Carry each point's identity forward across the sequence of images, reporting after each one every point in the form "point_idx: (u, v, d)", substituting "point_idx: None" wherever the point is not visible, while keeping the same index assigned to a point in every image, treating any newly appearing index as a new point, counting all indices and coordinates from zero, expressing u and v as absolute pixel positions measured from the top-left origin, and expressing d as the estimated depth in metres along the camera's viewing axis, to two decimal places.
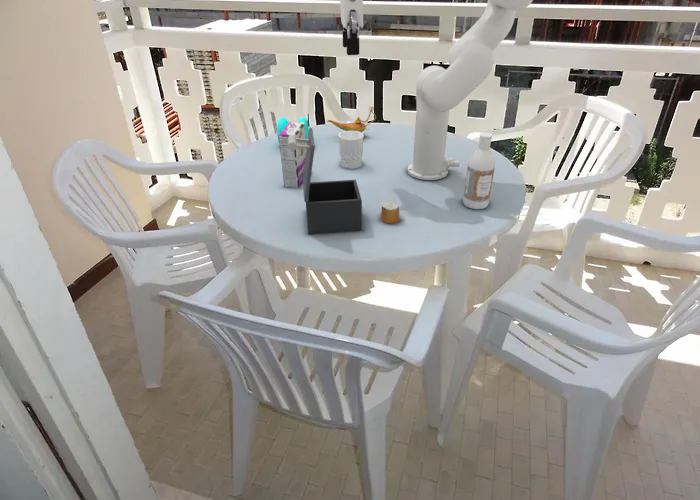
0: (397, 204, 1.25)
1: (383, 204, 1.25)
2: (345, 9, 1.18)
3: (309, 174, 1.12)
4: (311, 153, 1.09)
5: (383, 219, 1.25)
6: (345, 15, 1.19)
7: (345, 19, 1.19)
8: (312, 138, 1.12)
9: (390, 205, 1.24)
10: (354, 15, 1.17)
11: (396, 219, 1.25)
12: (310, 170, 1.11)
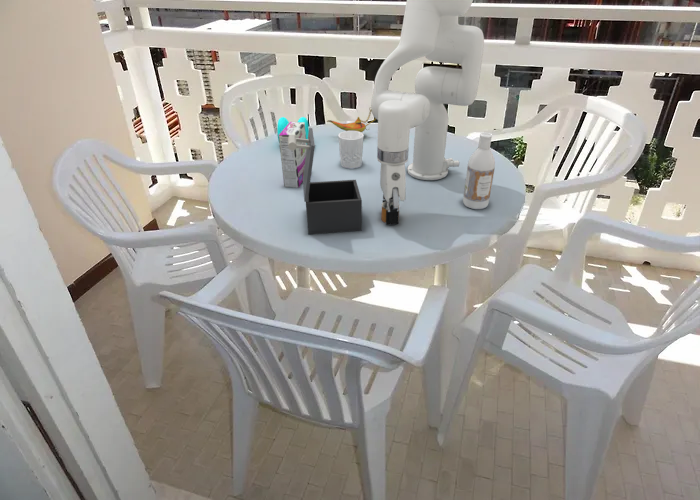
0: None
1: (383, 204, 1.25)
2: (388, 187, 1.16)
3: (309, 174, 1.12)
4: (311, 153, 1.09)
5: (383, 219, 1.25)
6: (387, 192, 1.17)
7: (387, 195, 1.18)
8: (312, 138, 1.12)
9: (390, 205, 1.24)
10: (396, 197, 1.17)
11: None
12: (310, 170, 1.11)
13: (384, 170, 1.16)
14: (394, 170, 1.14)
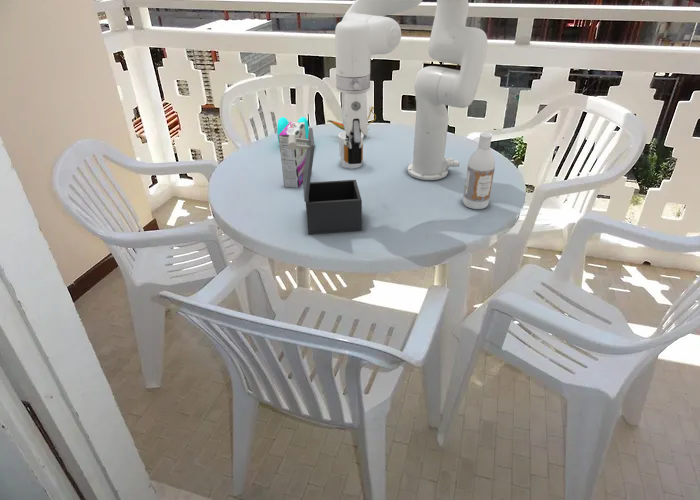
0: None
1: (345, 142, 1.15)
2: (348, 118, 1.06)
3: (309, 174, 1.12)
4: (311, 153, 1.09)
5: (345, 159, 1.16)
6: (348, 124, 1.07)
7: (347, 128, 1.08)
8: (312, 138, 1.12)
9: None
10: (357, 129, 1.07)
11: None
12: (310, 170, 1.11)
13: (344, 100, 1.06)
14: (354, 98, 1.04)
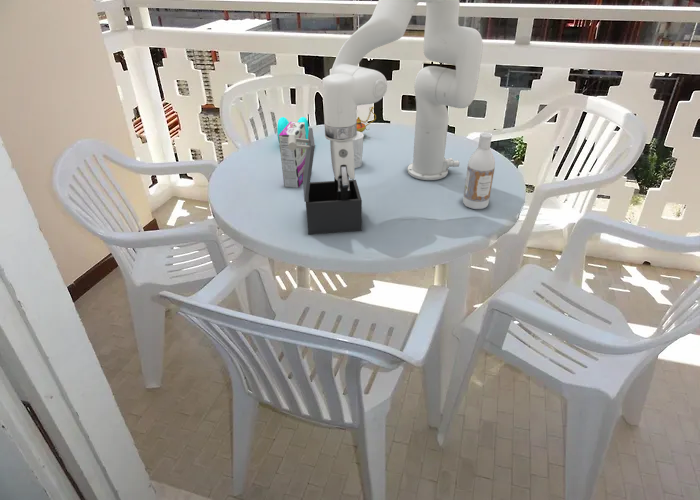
0: None
1: None
2: (335, 164, 1.13)
3: (309, 174, 1.12)
4: (311, 153, 1.09)
5: None
6: (335, 169, 1.13)
7: (336, 173, 1.14)
8: (312, 138, 1.12)
9: None
10: (345, 174, 1.13)
11: None
12: (310, 170, 1.11)
13: (332, 147, 1.12)
14: (341, 146, 1.10)
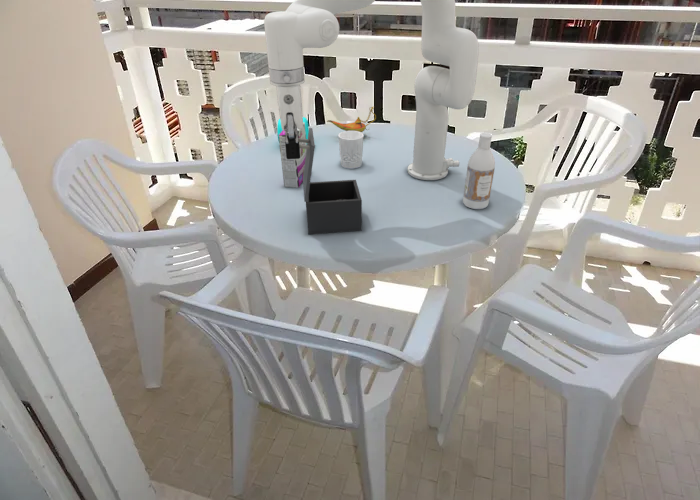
0: None
1: None
2: (281, 112, 1.04)
3: (309, 174, 1.12)
4: (311, 153, 1.09)
5: None
6: (281, 118, 1.05)
7: (282, 122, 1.05)
8: (312, 138, 1.12)
9: None
10: (291, 123, 1.05)
11: None
12: (310, 170, 1.11)
13: (277, 93, 1.04)
14: (286, 92, 1.02)
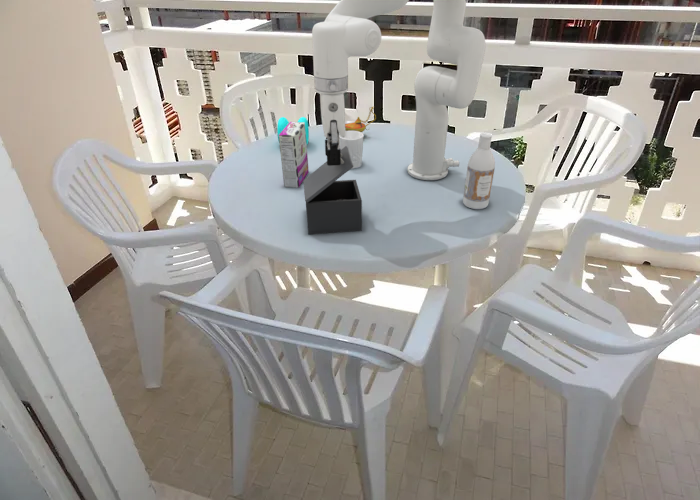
0: None
1: None
2: (325, 119, 1.06)
3: (329, 183, 1.14)
4: (345, 170, 1.12)
5: None
6: (325, 125, 1.07)
7: (325, 129, 1.08)
8: (350, 158, 1.16)
9: None
10: (335, 130, 1.07)
11: None
12: (332, 181, 1.14)
13: (321, 101, 1.06)
14: (331, 100, 1.04)
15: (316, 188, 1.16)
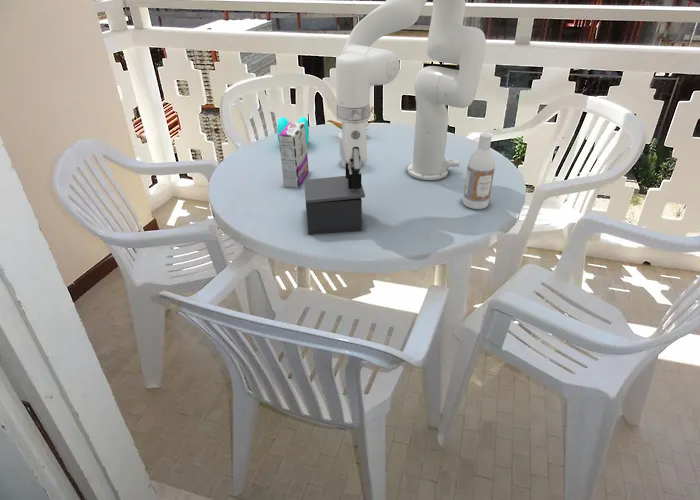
0: None
1: None
2: (347, 146, 1.10)
3: (336, 199, 1.16)
4: (357, 196, 1.17)
5: None
6: (347, 152, 1.11)
7: (347, 155, 1.12)
8: (362, 188, 1.20)
9: None
10: (357, 157, 1.11)
11: None
12: (340, 199, 1.17)
13: (344, 129, 1.10)
14: (354, 128, 1.08)
15: (321, 195, 1.17)
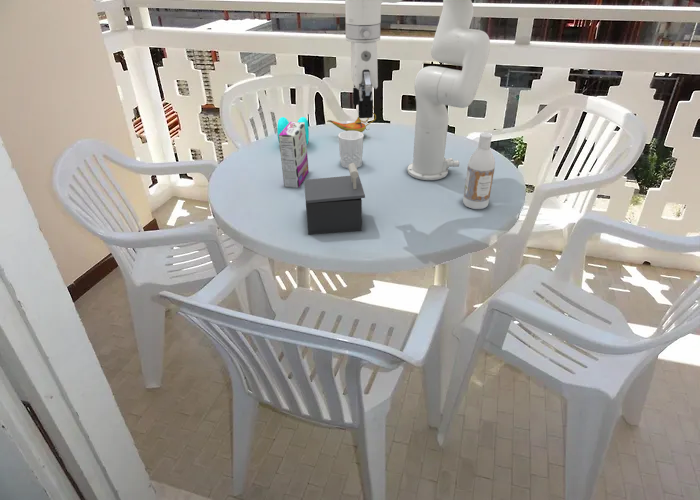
0: None
1: None
2: (357, 69, 1.03)
3: (336, 199, 1.16)
4: (357, 196, 1.17)
5: None
6: (357, 75, 1.04)
7: (357, 80, 1.04)
8: (362, 189, 1.21)
9: None
10: (368, 76, 1.02)
11: None
12: (340, 199, 1.17)
13: (353, 50, 1.03)
14: (364, 48, 1.01)
15: (321, 196, 1.17)
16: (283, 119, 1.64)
